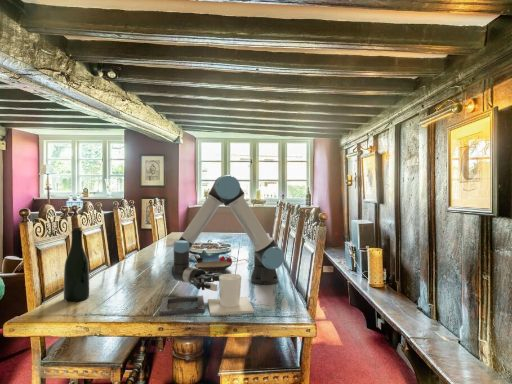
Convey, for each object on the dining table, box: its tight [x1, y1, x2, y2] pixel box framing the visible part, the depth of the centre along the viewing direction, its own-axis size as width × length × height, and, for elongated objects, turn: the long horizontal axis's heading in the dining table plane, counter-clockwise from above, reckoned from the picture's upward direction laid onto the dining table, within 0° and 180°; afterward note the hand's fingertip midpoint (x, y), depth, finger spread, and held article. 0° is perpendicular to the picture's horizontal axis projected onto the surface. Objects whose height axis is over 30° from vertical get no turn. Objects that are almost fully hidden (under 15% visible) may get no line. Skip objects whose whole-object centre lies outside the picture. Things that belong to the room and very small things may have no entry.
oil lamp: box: [193, 254, 232, 273], centre depth 215 cm, size 22×30×8 cm
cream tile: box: [207, 296, 255, 316], centre depth 149 cm, size 18×18×1 cm
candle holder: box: [218, 273, 242, 308], centre depth 149 cm, size 10×10×12 cm
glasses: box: [218, 255, 250, 265], centre depth 240 cm, size 14×16×5 cm
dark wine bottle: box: [63, 226, 90, 303], centre depth 158 cm, size 10×10×33 cm
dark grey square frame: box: [159, 295, 206, 316], centre depth 149 cm, size 18×18×2 cm
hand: (227, 284), depth 150 cm, fingers open, 13 cm apart
